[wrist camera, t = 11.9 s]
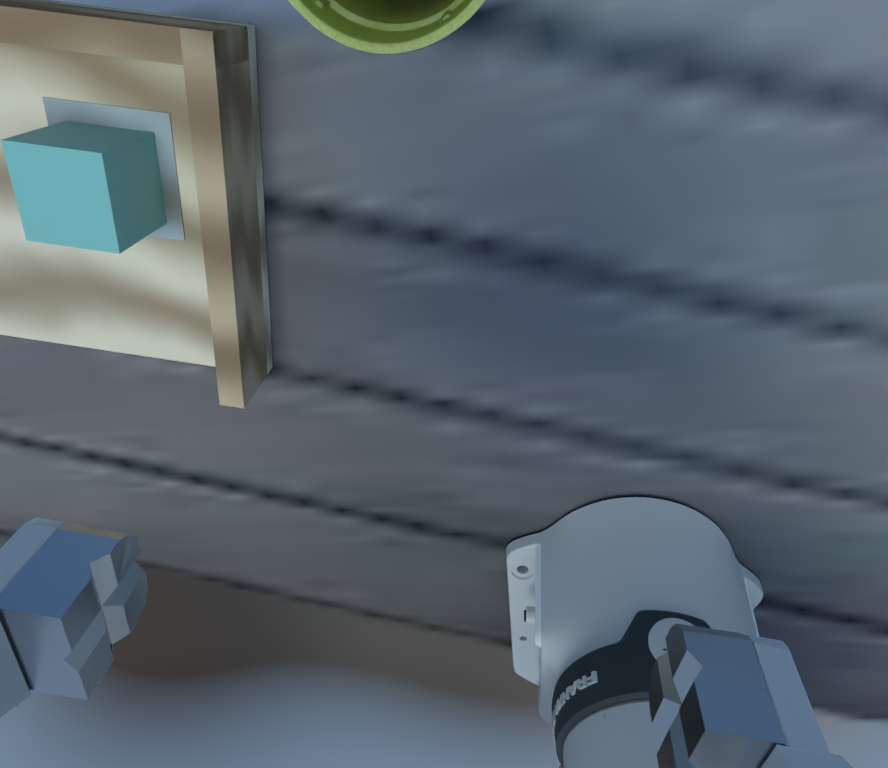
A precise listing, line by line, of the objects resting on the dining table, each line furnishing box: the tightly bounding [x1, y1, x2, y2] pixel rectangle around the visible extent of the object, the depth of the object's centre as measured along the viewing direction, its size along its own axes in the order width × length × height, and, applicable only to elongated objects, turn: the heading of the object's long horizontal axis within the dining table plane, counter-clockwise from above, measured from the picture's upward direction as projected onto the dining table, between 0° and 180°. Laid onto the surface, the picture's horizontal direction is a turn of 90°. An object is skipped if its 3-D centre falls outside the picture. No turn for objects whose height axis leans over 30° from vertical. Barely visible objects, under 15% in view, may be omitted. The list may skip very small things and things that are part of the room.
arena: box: [0, 0, 273, 408], centre depth 36 cm, size 20×20×5 cm
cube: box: [1, 121, 167, 254], centre depth 34 cm, size 5×5×5 cm
